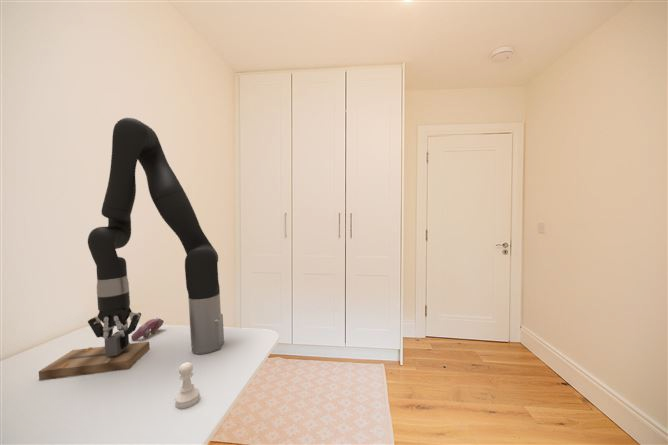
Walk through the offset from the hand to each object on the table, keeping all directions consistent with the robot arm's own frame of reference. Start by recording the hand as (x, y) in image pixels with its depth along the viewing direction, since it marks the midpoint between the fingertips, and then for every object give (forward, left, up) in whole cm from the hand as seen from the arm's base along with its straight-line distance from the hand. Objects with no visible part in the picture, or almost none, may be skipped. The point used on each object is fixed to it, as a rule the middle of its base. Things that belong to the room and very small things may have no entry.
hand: (117, 348), depth 83 cm
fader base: (+5, 0, -4) cm, 6 cm away
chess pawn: (-28, +25, -4) cm, 38 cm away
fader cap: (0, 0, -1) cm, 1 cm away
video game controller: (0, -18, -4) cm, 19 cm away
